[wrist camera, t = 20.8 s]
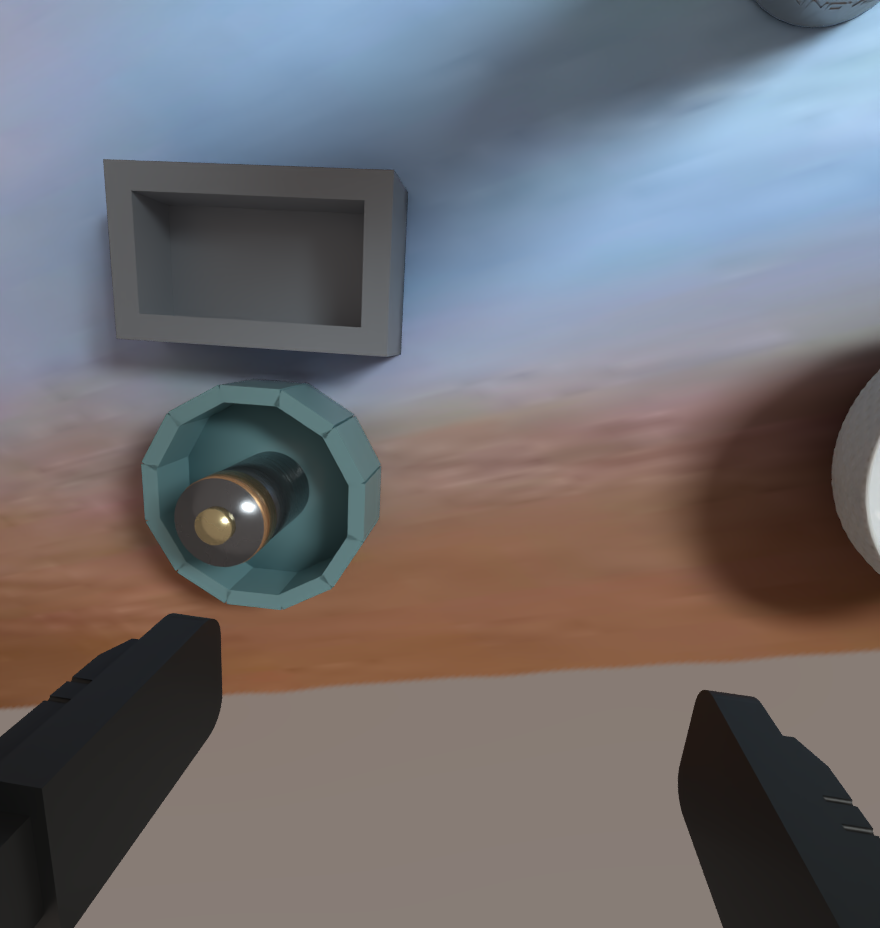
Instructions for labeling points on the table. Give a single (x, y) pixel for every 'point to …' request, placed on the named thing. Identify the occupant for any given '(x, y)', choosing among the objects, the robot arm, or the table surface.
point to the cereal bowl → (860, 473)
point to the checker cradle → (258, 255)
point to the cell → (240, 508)
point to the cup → (251, 432)
